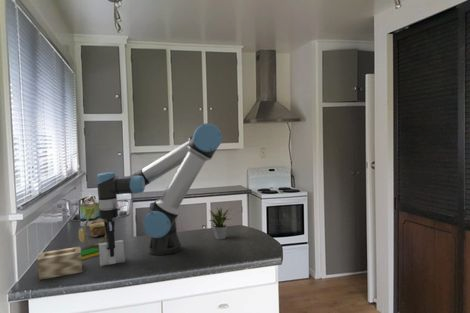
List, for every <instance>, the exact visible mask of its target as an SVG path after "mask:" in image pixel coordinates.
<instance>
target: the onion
mask: <svg viewBox="0 0 470 313" xmlns="http://www.w3.org/2000/svg"><path fill="white" fill-rule="evenodd" d="M100 222H104V221H93V222H92V223H91V224H94V223H100ZM103 227H105V226H103ZM94 228H96V227H89V233H90V234H91V231H92V230H93V229H94ZM99 230H101V231H100V233H98V232H97V231H98V229H96V230H94V231H93V235H98V236H96V237H103V236H105V231H104V229H103V228H100V229H99ZM96 237H95V238H96Z"/></svg>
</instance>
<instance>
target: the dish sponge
mask: <svg viewBox="0 0 470 313" xmlns="http://www.w3.org/2000/svg"><path fill="white" fill-rule="evenodd" d="M96 256H100V255H99V248H96V247H91V248H87V249H84V250H81V259H82V261H83V260H85V259H90V258H93V257H96Z"/></svg>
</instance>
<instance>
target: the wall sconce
mask: <svg viewBox="0 0 470 313" xmlns="http://www.w3.org/2000/svg"><path fill="white" fill-rule="evenodd" d="M88 201H93V203H94V207H93V209H92V211H91V213H90V214H89V216H88V218H87V220H86V223H85V226H83V228H79V229H78V240H79V241H80V242H81V243H86V244H87V245H88V246H92V247H96V246H97V247H98V246H99V243H105V242H106V240H107V236H106V231H105V227H103V226H105V225H104V222H105V221H103V222H100V223H94V224H90V225H89V226H87V223H88V220H89V218H90V216H91V215H92V213H93V211H94V209H95V206H96V203H95V201H96V200H95V199H94V198H92V197H88V198H86V199H84V200H83V202H82V203H83V204H84V205H85V206H88V205H89V203H88V204H87V205H86V204H85V202H88ZM87 227H89V228H90V227H96V228H94V229H93V230H92V231H91V233H90V234H91V237H93V238H96V236H98V235H93V231H94V230H96V229H98V231H97V232H98V233H100V231H101V230H99V229H100V228H103V229H104V231H105V234H104V238H103V240H101V241H100V242H98V243H90V242H89V241H88V239H87V236H88V234H87V232H86V229H87Z"/></svg>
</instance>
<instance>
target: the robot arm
mask: <svg viewBox="0 0 470 313" xmlns="http://www.w3.org/2000/svg"><path fill="white" fill-rule="evenodd" d="M222 135H223V134H222V132H221V129H220V128H219V127H218V126H216V125H215V124H213V123H210V122H209V123H208V122H207V123H203V124H200V125H198V127H196V128H195V130H194V132H193V135H191V136H189V137H188V140H187V141H186V142H183V143H182V144H181V145H179V146H177V147H175V149H172V150H171V151H169V152H168V153H166V154H164V155H163V156H161V157H159V158H157V159H156V160H154V161H153V162H151V163H150V164H148V165H146V166H145V167H143V168H141V169H140V170H138V171H136V172H135V173H133V174H131V175H128V176H127V175H125V176H116V172H109V171H108V172H101V173H98V174H97V176H96V183H97V184H96V186H97V187H96V188H97V196H98V199H97V200H99V202H97V204H99V209H101V210H100V211H99V215H100V219H104V221H103V222H104V225H105V231H106V236H107V237H106V242H108V248H107V250H108V255H109V265H114V264H117V263H116V257H115V241H116V240H115V232H116V230H115V221H114V220H113V219H115V218H118V217H119V210H118V197H117V196H118V195H124V194H125V195H126V194H127V195H128V194H134V195H135V194H136V195H137V194H141V193H143V192H144V191H145V189H146V186H147V185H149V184H151V183H152V182H153V181H156V180H157V179H159V178H161V177H162V176H164V175H165V174H167V173H170V172H171V171H172V170H174V169H175V168H177V169H176V171H175V174H174V175H173V176H172V178H171V180H170V182H169V184H167V186H166V189H165V190H164V192H163V194H162V195H161V197H160V198H158V199H155V201H154V202H150V204H149V210H148V212H147V213H146V214H145V215H144V217H143V220H142V228H143V231H144V232H145V234H147V235H148V236H149V237H150V240H149V246H148V253H149V254H151V255H157V256H162V255H163V256H164V255H170V254H175V253H177V252H180V251H181V250H182V241H181V239H180V237H179V235H178V232H177V231H178V229H177V218H178V216H179V215H180V214H179V207H180V205H181V204H182V202H183V201H184V199H185V197H186V195H187V194H188V191H189V190H190V188H191V187H192V185H193V184H194V182H195V179H197V176H198V174H199V173H200V171H202V168H203V167H204V164H205V163H206V162H207V161H210V160H211V159H212V158H213V156H214V154H216V151H217V150H218V148H219V147H220V145H221V143H222V139H223V136H222Z"/></svg>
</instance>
